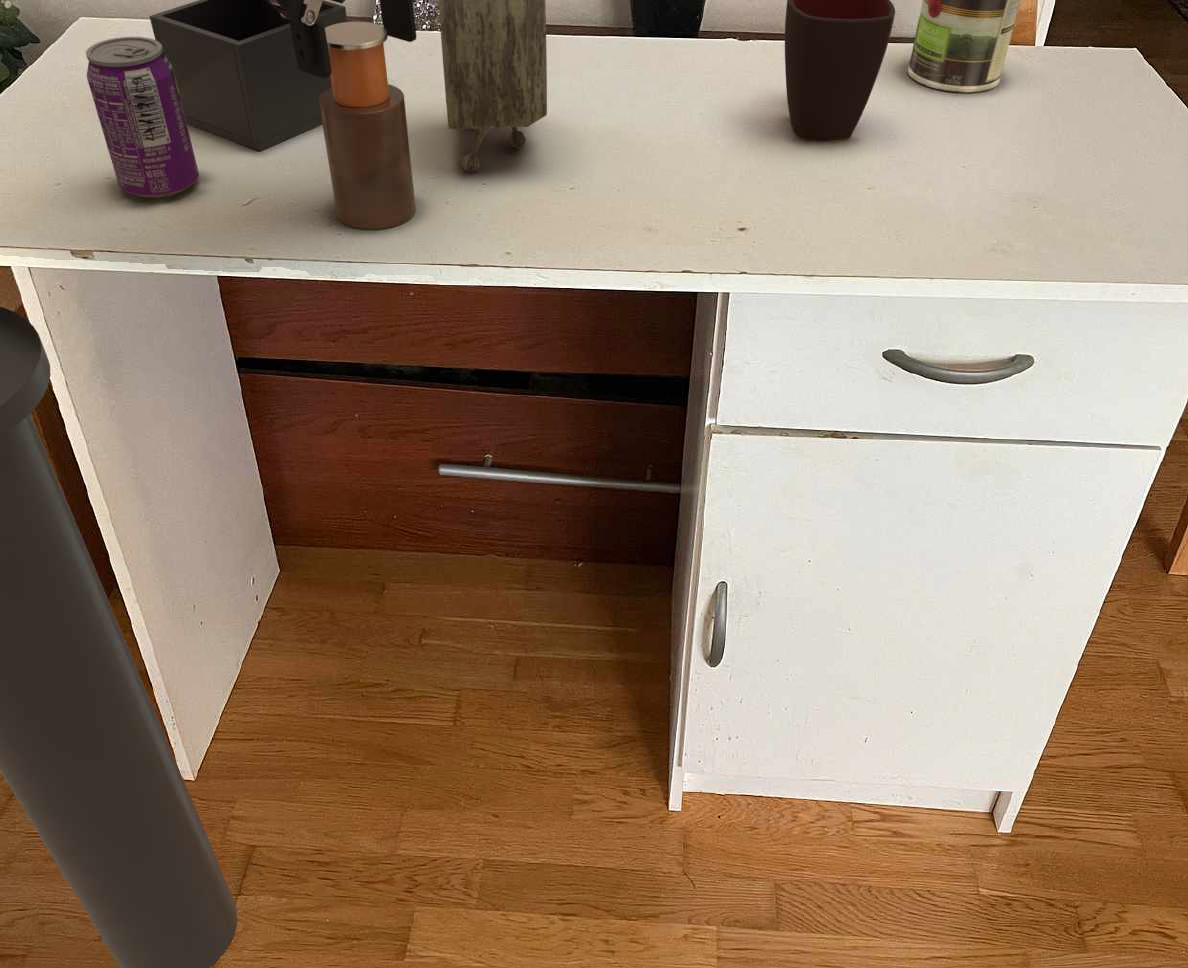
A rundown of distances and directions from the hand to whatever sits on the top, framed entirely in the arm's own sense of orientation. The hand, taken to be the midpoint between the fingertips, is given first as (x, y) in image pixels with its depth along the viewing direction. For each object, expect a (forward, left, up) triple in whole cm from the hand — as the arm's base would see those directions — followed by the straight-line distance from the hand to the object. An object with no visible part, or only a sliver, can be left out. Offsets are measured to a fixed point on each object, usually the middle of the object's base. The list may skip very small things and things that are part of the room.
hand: (359, 55), depth 90 cm
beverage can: (-9, +19, -13) cm, 25 cm away
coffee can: (+63, -28, -13) cm, 70 cm away
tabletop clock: (+17, 0, -13) cm, 21 cm away
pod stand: (0, 0, -13) cm, 13 cm away
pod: (0, 0, -3) cm, 3 cm away
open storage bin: (+9, +24, -13) cm, 29 cm away
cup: (+42, -22, -13) cm, 49 cm away
